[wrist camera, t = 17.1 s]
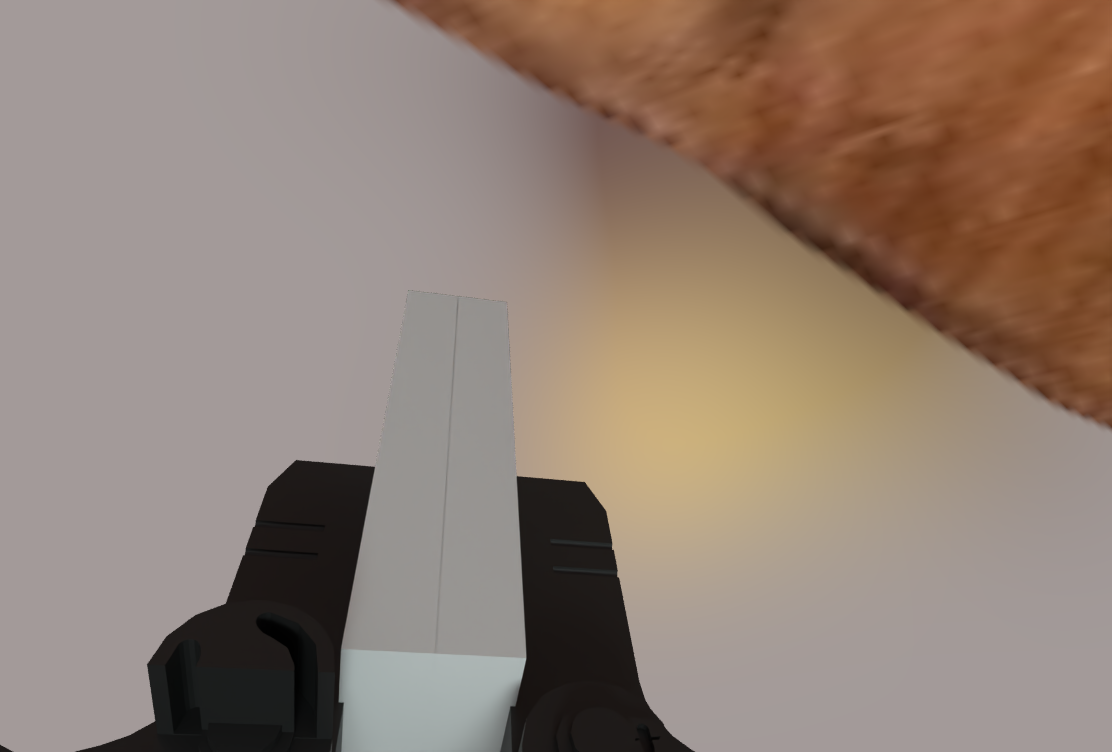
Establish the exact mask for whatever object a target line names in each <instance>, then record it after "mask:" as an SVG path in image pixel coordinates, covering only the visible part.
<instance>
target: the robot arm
mask: <svg viewBox="0 0 1112 752" xmlns="http://www.w3.org/2000/svg"><path fill="white" fill-rule="evenodd" d="M511 385H512V384H511V368H510V347H509V329H508V311H507V302H502V301H494V300H486V299H478V298H469V297H461V296H453V295H444V294H436V293H428V292H419V291H410V290H408V295H407V300H406V305H405V311H404V316H403V321H402V327H401V332H400V337H399V343H398V349H397V353H396V359H395V364H394V369H393V376H392V381H391V385H390V391H389V396H388V401H387V407H386V412H385V418H384V423H383V428H382V434H381V439H380V444H379V449H378V455H377V460H376V465H375V467H371V466H370V467H369V466H358V465H347V464H335V463H323V462H311V461H299V460H296V461H295V462H294V463H293V464H292V465H290V466H289V467H288V468H287V469H286V470H285V471H284V472H283V473H282V474H281V475H280V476H279V477H278V478H277V479H276V480H275V481H273V483H271V484H270V485H269V486H268V488H267V491H266V494H265V496H264V499H263V502H262V505H261V507H260V510H259V513H258V516H257V518H256V525H255V527H253V529H252V532H251V535H250V538H249V541H248V543H247V546H246V552H245V556H243V557H242V560H241V563H240V566H239V569H238V571H237V574H236V577H235V580H234V582H233V585H232V588H231V591H230V593H229V596H228V599H227V602H226V604H224V605H221V606H219V607H216V608H213V609H211V610H208V611H205V612H202V613H200V614H197V615H195V616H194V617H192V618H191V619H189V620H188V621H187V622H185V623H184V624H183V625H181V626H180V627H179V628H177V629H176V630H175V631H173V632H172V633H171V634H169V635H168V636H167V637H166V638H165V639H164V641H163V642H162V644H161V645H160V647H159V648H158V650H157V651H156V653H155V654H154V655H153V657H152V659H151V660H150V661H149V663H148V664H147V667H148V674H149V680H150V687H151V694H152V700H153V708H154V714H155V722H153V723H151V724H150V725H148V726H146V727H144V728H142V729H141V730H138V731H137V732H135V733H133V734H131V735H129V736H126V737H124V738H121V739H118V740H115V741H112V742H109V743H106V744H103V745H100V746H96V747H92V748H88V749H84V750H80V751H76V752H695V751H692V750H691V749H690V748H688V747H687V746H686V745H684V744H682V743H681V742H680V741H679V740H677V739H676V738H675V737H673V736H672V735H671V734H670V733H669V732H668V731H667V729H666V728H665V727H664V724H663V723H662V721H661V720H659V718H658V717H657V716H656V715H655V714H654V713H653V711H652V710H651V709H650V707H649V706H648V704H647V702H646V701H645V698H644V695H643V692H642V688H641V686H640V683H639V678H638V673H637V667H636V662H635V657H634V652H633V647H632V642H631V637H630V632H629V626H628V621H627V616H626V611H625V606H624V601H623V596H622V591H621V585H620V580H619V578H618V577H617V571H618V570H617V565H616V559H615V554H614V550H612V539H611V534H610V529H609V524H608V518H607V513H606V510H605V509H604V508H603V506H602V505H601V504H600V502H599V501H598V499H597V498H596V497H595V495H594V494H593V493H592V491H591V490H590V489H589V487H588V486H587V485H586V483H585V482H577V481H566V480H553V479H542V478H531V477H518V476H516V458H515V440H514V421H513V403H512V386H511ZM0 752H12V751H11V750H9V749H7V748H5V747H3V746H1V745H0Z"/></svg>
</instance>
